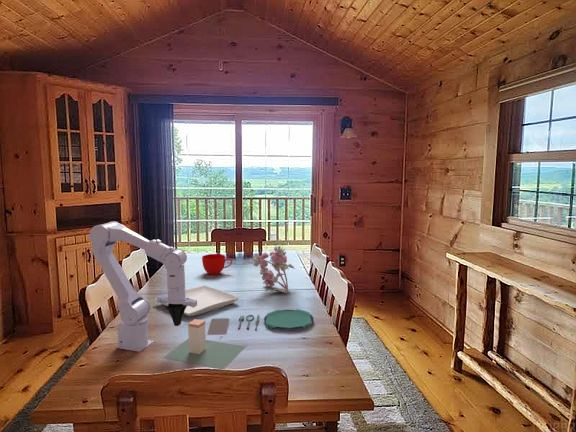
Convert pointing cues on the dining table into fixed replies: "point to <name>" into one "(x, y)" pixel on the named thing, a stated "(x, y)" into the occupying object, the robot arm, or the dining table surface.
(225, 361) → the green mat
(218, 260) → the ceramic cup
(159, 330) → the dining table surface
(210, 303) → the square plate
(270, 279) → the flower
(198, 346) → the cream block
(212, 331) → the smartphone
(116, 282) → the robot arm
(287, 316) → the cutlery set
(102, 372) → the dining table surface
